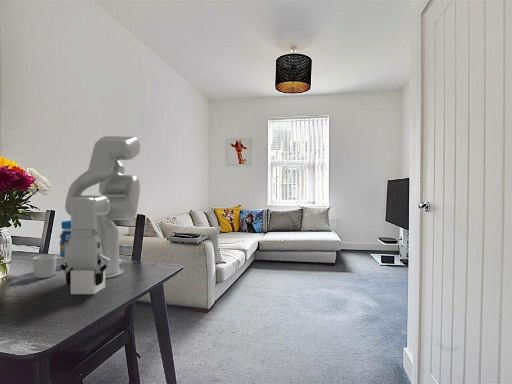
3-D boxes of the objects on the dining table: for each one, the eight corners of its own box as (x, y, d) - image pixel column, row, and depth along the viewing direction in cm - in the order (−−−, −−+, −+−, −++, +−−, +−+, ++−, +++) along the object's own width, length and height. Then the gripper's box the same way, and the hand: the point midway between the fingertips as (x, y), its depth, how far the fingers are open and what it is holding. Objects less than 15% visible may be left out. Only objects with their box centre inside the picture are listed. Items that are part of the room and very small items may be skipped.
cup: (60, 271, 129) (60, 252, 129) (67, 274, 124) (67, 255, 124) (29, 277, 121) (29, 257, 120) (36, 281, 116) (35, 260, 115)
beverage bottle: (67, 262, 143) (67, 220, 142) (85, 262, 142) (85, 220, 142) (55, 267, 134) (54, 222, 134) (74, 267, 134) (73, 222, 133)
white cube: (83, 286, 109) (83, 265, 109) (105, 286, 109) (105, 265, 109) (70, 294, 102) (70, 270, 102) (93, 294, 102) (93, 270, 102)
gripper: (114, 232, 106) (115, 280, 107) (65, 231, 106) (66, 280, 107) (104, 235, 99) (104, 288, 99) (50, 235, 99) (51, 287, 99)
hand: (84, 284), depth 103 cm, fingers open, 9 cm apart
